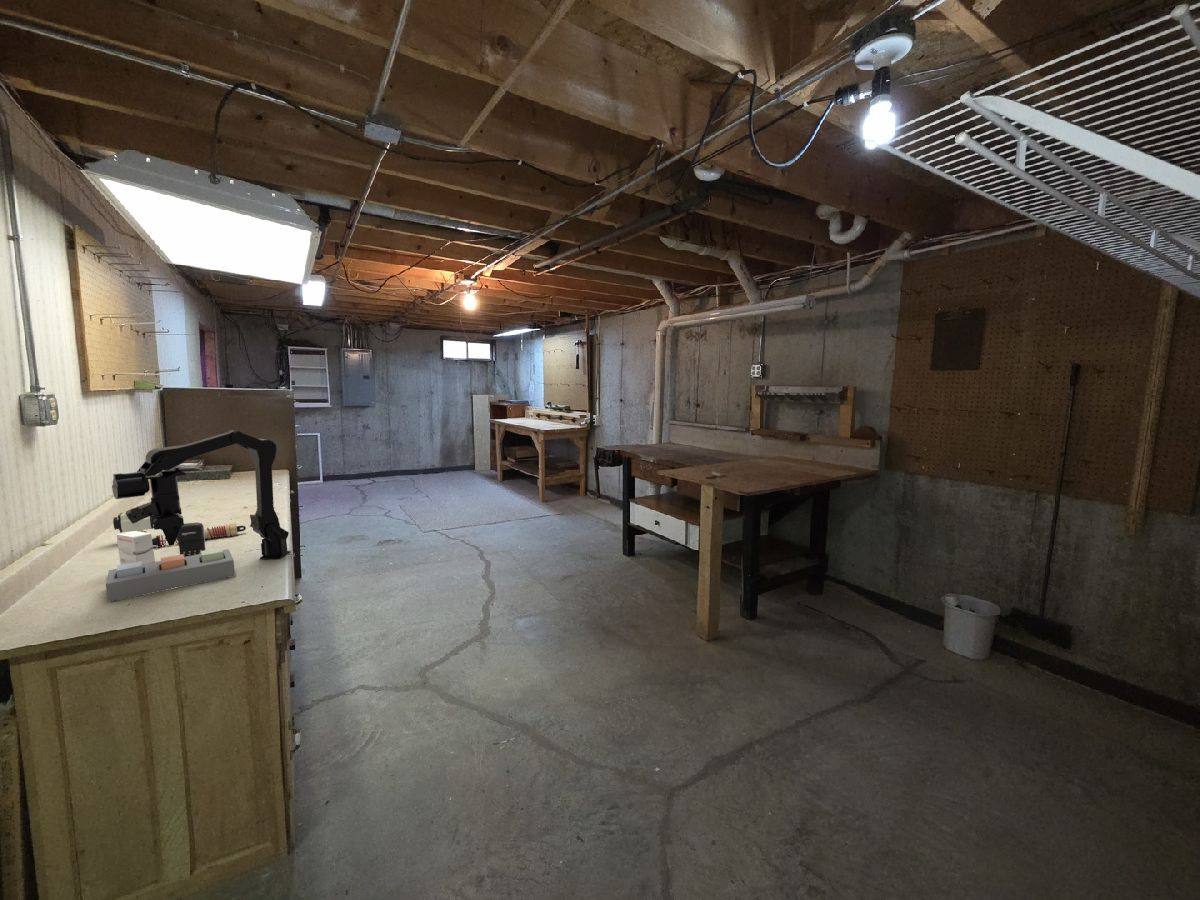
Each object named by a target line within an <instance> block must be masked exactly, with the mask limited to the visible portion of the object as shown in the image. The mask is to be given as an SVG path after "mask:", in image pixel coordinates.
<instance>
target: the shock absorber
mask: <svg viewBox="0 0 1200 900" xmlns="http://www.w3.org/2000/svg"><path fill="white" fill-rule="evenodd" d="M246 529H247V528H246V526H245V525H237V523H236V522H235V523H228V524H225V525H221V526H220V525H219V526H212V527H211V528H209V527H207V528H206V529H204V532H205V539H206V538H207V539H211V538H212V537H213V539H218V538H219V537H220V538H225V537H226V536H230V535H236V536H237V535H238V533H240V532H244V531H246ZM163 535H164V534H160V535H159V534H158V535H156V536H155V537H154V538H152V543H153V547H155V546H156V547H157V548H159V546H160V547H161V546H162V545H163V546H162V547H165V546H164V544H165V545H166V544H167V543H166V542H167V540H166V537H165V536H164V537H163ZM224 536H225V537H224ZM215 537H216V538H215ZM230 537H231V536H230ZM207 539H206V540H207ZM175 544H176V545H179V544H178V541H177V538H176V541H175Z"/></svg>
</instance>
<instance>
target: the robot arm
mask: <svg viewBox="0 0 1200 900" xmlns="http://www.w3.org/2000/svg"><path fill="white" fill-rule="evenodd" d="M233 445H236V446H239V447H241V448H244V449H246V450H248V452H249V456H250V458H251V461H252V463H253V465H254V469H255V470H254V473H255V488H256V489H255V490H256V491H255V493H256V510H255V513H254V514H250V515H249V518H250V525H249V527H250V528H252V530H253V532H254V533H256V534H258V535H260V538H261V543H260V549H261V555H260V557H259V558H260V559H261V560H263V559H265V560H268V559H271V560H275V559H282V558H283V557H285V556H287V555H288V554H290V553H291V550H288V540H287V539H288V536H289V534H290V533H289V531H287V530H286V529H284V528H282V527H281V524H280V520H279V517H278V514H277V513H276V510H275V507H274V486H273V485H274V484H273V465H274V462H275V460H276V456H277V451H278V448H277V444H276V443H275V442H274V441H273V440H270V439H266V438H265V439H264V438H256V437H254V436H251V435H248V434H245V433H243V432H241V431H239V430H233V429H231V430H228V431H226V432H224V433H220V434H217V435H213V436H210V437H207V438H203V439H199V440H195V441H193V442H189V443H186V444H181V445H173V446H165V447H158V448H153V449H151V450H149V451H148V452H147V453H146V455H145V459H144V460H145V461H144V462H143V464H141V466H140V467H139V468H138V470H137V471H136V472H128V473H127V472H126V473H113V474H112V476H113V479H112V485H111V489H112V495H113V497H114V499H115V500H121V499H128V498H135V497H143V496H145V495H146V494H147V493H149V492H150V490H151V497H150V501H148V502H146V503H143V504H141V505H137V506H135V507H134V508H130V509H128V510H126V511H125V513H126V515H127V517H128V519H129V520H130V521H131V523H136V522H138V521H139V520H142V519H144V518H147V517H149V516H151V515H153V517H154V518H155V519H154V520H153V524H154V529H153V530H154V531H155V530H156V531H157V530H161V531H162V533H163V535H164V538H165V537H166V540H167V541H166V542H167V545H168V546H169V547H170V546H171V547H172V546H174V545H175V544H176V538H177V536H178V533H179V531H180V528H181V526H183V525H184V523H185V522H184V516H183V513H182V512H183V511H182V506H181V501H180V495H179V494H180V493H179V485H178V477H179V476H186V475H187V473H186V472H184V471H183V470H181V469H180V468H179V467H178V466H179V465H182V464H184V463H185V462H187V461H188V460H190V459H192V458H194V457H199V456H201V455H204V454H207V453H210V452H213V451H216V450H220V449H223V448H226V447H230V446H233Z"/></svg>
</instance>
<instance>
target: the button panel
mask: <svg viewBox="0 0 1200 900" xmlns="http://www.w3.org/2000/svg"><path fill="white" fill-rule="evenodd" d="M222 550H223V556H224V558H223V559H218V560H213V561H207V562H202V560H201V554H198V555H192V556H186V557H184V562H185V566H180V567H175V568H170V569H164V570H162V567H161V560H159V561H155V562H152V563H147V564H142V566H143V574H137V575H132V576H127V577H121V578H117V572H116V570H117V568H115V569H114V568H113V569H109V570H108V573H107V575H106V576H107V577H106V580H105V589H106V596H107V602H108V603H110V602H109V601H112V602H115V601H114V600H116V601H120V600H119V599H121V600H125V599H124V598H126V599H130V598H129V597H131V598H135V597H134V596H136V597H139V596H138V595H140V596H144V595H143V594H145V595H149V594H148V593H150V594H153V593H152V592H155V593H158V592H157V591H160V592H163V591H162V590H164V591H167V590H166V589H169V590H172V589H171V588H174V589H176V588H175V587H179V588H181V587H180V586H184V587H186V586H185V585H189V586H192V585H191V584H193V585H196V584H195V583H198V584H201V582H203V583H206V582H205V581H208V582H211V581H210V580H213V581H216V580H215V579H217V580H221V579H220V578H222V579H225V578H224V577H227V578H230V577H229V576H232V577H235V576H236V573H235V572H236V570H235V562H234V561H235V560H234V558H233V556H232V553H231V552H230V550H229V548H227V549H222ZM234 575H235V576H234Z"/></svg>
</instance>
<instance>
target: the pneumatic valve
mask: <svg viewBox="0 0 1200 900" xmlns="http://www.w3.org/2000/svg"><path fill="white" fill-rule="evenodd" d="M154 519H155V518H154V517H153V515H151V516H149V517H147V518H144V519H142V520H139V521H138V522H136V523H131V521H130V520H129V519H128V517H127V515H126V512H120V513H119V514H118V515H117V516H115V517H113V521H112V522H113V523H112V524H113V528H114V530H115V531H116V530H117V531H119V534H121V533H126V532H132V531H139V532H145V533H148V531H146V530H154V524H153V520H154Z"/></svg>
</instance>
